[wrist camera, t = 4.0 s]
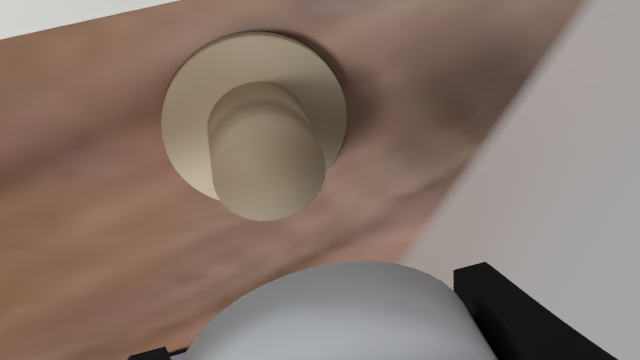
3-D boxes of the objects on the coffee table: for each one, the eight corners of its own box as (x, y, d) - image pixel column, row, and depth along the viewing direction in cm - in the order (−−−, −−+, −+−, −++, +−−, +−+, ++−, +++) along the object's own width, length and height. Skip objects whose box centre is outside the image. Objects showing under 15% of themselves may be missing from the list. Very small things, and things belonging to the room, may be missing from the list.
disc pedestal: (352, 172, 20) (382, 229, 17) (192, 214, 20) (194, 279, 17) (329, 12, 17) (360, 49, 14) (134, 56, 16) (126, 104, 14)
